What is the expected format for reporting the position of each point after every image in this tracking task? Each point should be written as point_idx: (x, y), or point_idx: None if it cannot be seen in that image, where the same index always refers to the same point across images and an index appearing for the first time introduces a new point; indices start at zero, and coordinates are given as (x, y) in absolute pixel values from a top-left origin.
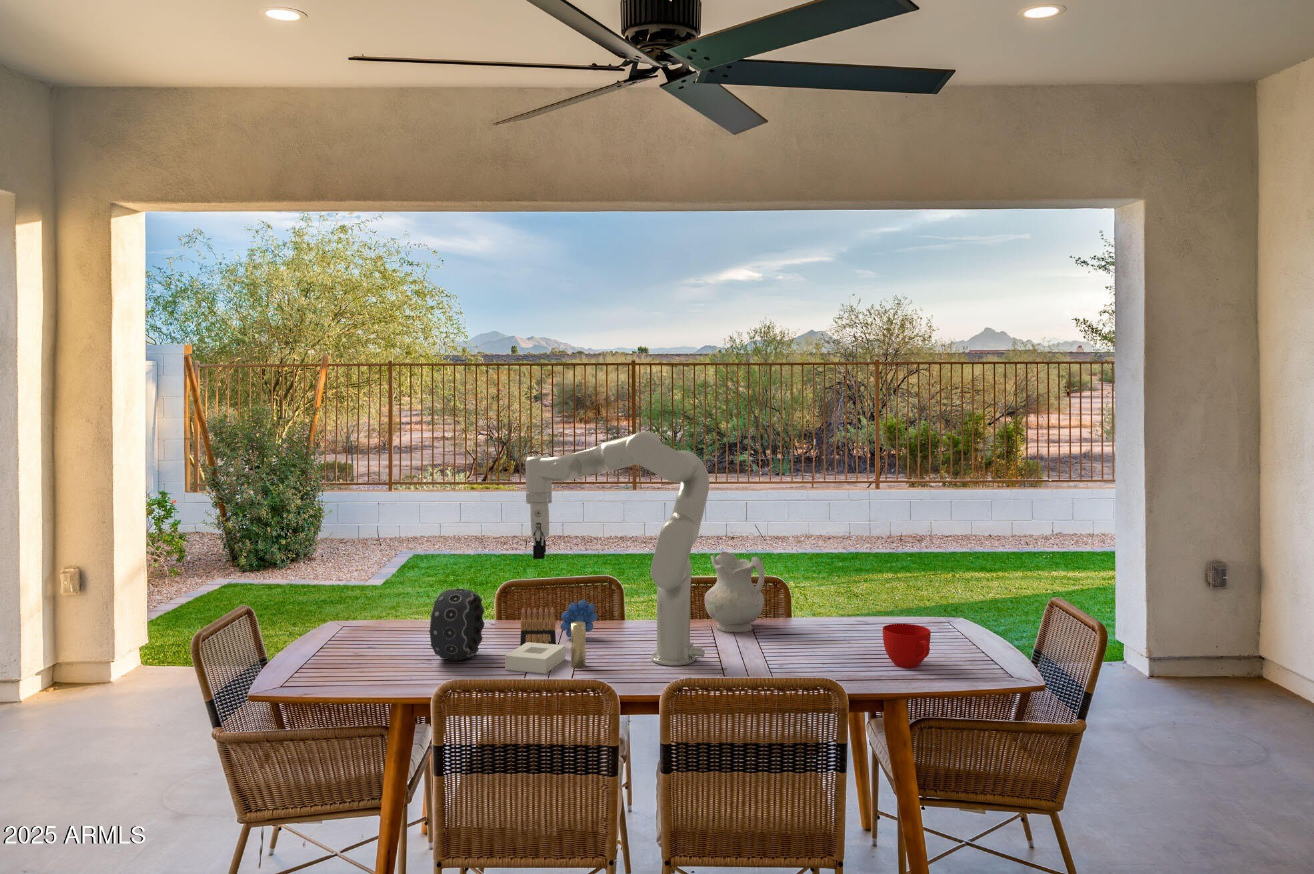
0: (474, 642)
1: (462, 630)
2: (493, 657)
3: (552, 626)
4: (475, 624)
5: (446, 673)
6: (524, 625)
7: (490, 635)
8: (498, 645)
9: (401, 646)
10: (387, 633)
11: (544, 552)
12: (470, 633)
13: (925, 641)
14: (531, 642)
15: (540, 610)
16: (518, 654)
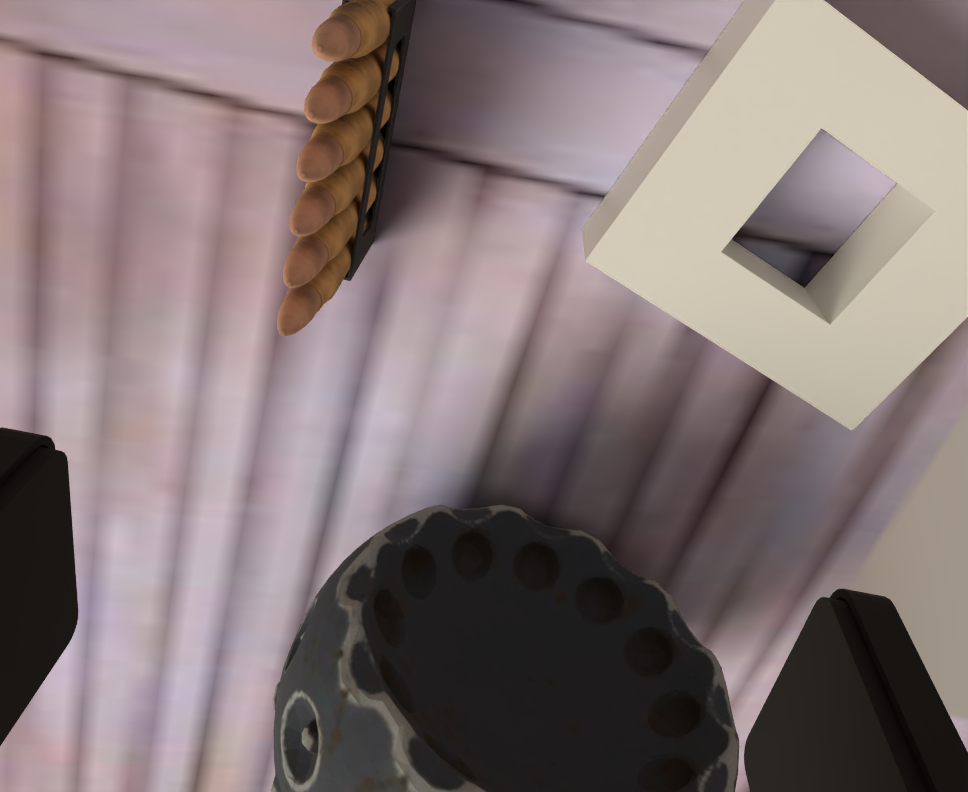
0: (462, 542)
1: (735, 729)
2: (550, 416)
3: (382, 32)
4: (404, 600)
5: (748, 632)
6: (341, 269)
7: (64, 382)
8: (300, 364)
9: (240, 749)
10: (11, 781)
11: (65, 467)
12: (453, 597)
13: None
14: (606, 231)
15: (325, 172)
16: (871, 355)
